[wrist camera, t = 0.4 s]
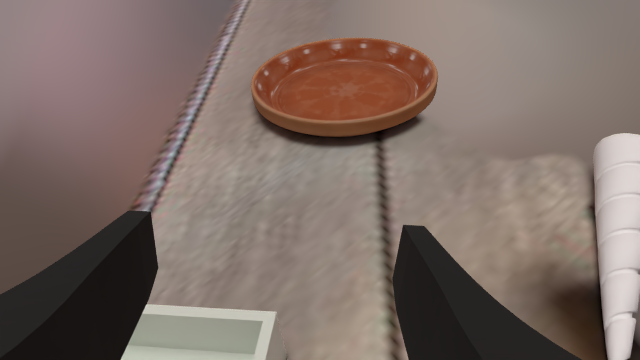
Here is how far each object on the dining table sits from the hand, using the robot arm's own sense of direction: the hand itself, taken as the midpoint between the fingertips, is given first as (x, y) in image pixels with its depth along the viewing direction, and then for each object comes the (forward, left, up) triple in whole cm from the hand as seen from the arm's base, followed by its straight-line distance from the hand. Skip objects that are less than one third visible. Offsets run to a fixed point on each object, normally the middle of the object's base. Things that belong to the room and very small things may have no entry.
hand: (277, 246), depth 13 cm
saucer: (+43, +3, -20) cm, 48 cm away
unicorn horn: (+18, -21, -20) cm, 34 cm away
